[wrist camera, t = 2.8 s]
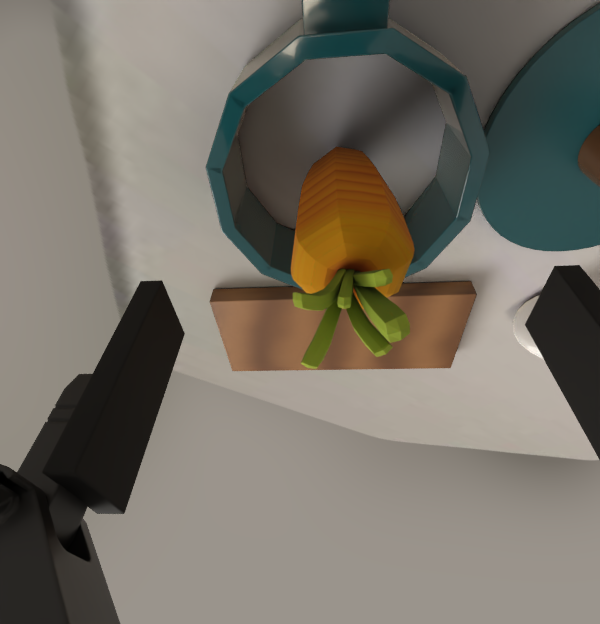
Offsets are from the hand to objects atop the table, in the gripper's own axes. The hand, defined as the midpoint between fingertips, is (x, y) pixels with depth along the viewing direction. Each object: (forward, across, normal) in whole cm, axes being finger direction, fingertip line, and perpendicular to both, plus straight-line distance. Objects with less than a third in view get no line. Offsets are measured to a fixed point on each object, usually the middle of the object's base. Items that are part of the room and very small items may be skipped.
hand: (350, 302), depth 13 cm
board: (+12, 0, -14) cm, 19 cm away
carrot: (+13, 0, 0) cm, 13 cm away
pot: (+12, 0, 0) cm, 12 cm away
